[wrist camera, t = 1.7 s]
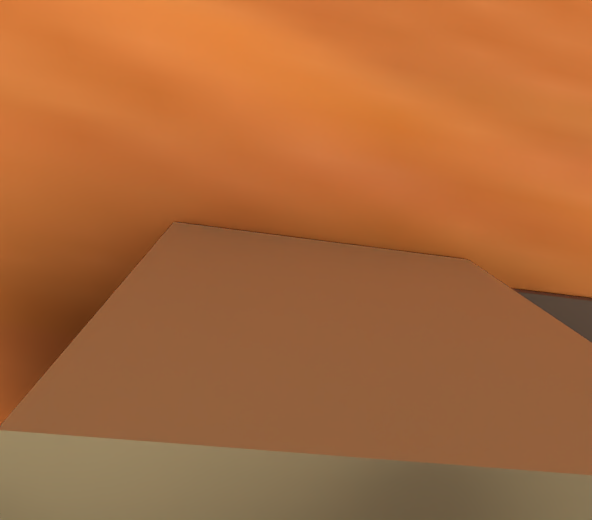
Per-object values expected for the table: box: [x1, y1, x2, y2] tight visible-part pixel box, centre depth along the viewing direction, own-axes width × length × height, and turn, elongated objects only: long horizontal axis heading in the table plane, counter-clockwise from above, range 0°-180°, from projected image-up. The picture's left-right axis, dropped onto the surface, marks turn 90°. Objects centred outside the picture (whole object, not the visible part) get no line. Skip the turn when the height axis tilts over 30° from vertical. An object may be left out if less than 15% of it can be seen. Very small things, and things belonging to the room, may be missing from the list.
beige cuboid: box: [0, 222, 592, 520], centre depth 7 cm, size 7×6×6 cm
